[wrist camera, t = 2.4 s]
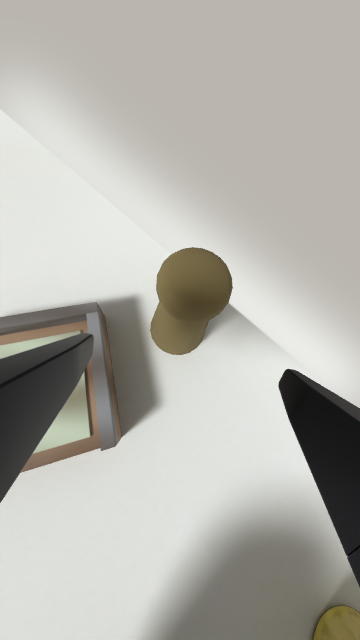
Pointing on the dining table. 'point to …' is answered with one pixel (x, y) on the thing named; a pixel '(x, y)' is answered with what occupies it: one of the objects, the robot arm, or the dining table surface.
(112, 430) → the wooden tray
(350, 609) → the vase
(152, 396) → the dining table surface
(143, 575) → the dining table surface
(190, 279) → the olive domed stopper
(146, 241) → the dining table surface
